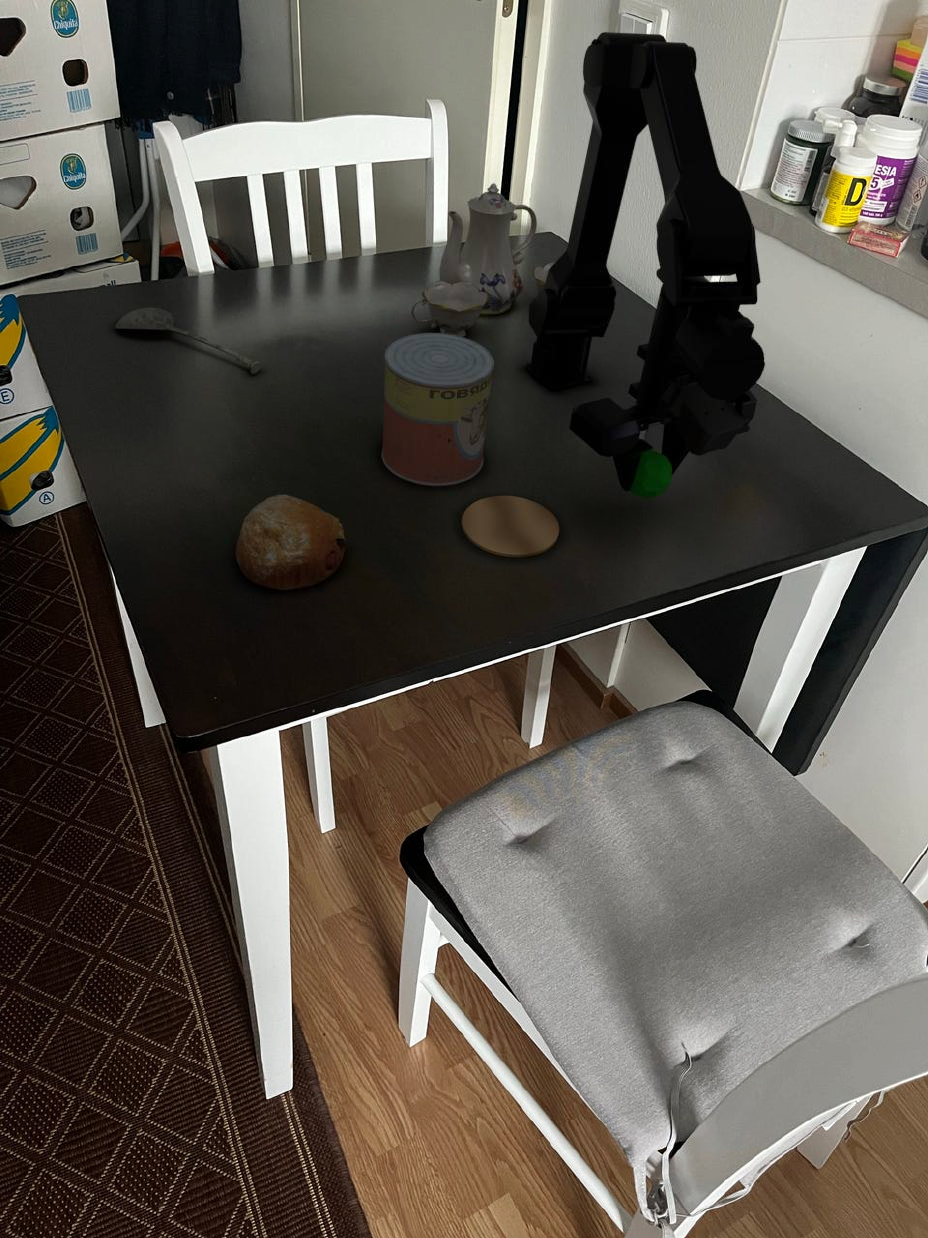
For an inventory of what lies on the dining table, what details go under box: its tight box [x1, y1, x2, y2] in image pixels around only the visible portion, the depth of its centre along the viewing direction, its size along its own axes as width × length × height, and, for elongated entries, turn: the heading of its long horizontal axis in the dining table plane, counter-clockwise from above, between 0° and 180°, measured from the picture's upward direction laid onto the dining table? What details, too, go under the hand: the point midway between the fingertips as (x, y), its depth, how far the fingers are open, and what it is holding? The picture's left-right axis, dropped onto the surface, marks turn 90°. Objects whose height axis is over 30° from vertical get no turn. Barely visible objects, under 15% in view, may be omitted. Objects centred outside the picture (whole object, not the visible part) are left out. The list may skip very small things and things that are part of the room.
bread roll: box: [235, 493, 348, 591], centre depth 93 cm, size 10×10×8 cm
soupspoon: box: [114, 307, 262, 375], centre depth 123 cm, size 22×3×7 cm
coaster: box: [461, 495, 560, 559], centre depth 101 cm, size 10×10×1 cm
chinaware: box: [411, 182, 556, 337], centre depth 133 cm, size 28×17×17 cm, turn 127°
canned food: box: [381, 332, 495, 487], centre depth 105 cm, size 11×11×12 cm
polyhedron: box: [629, 449, 673, 500], centre depth 102 cm, size 5×5×5 cm
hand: (645, 483), depth 102 cm, fingers closed on polyhedron, 5 cm apart
